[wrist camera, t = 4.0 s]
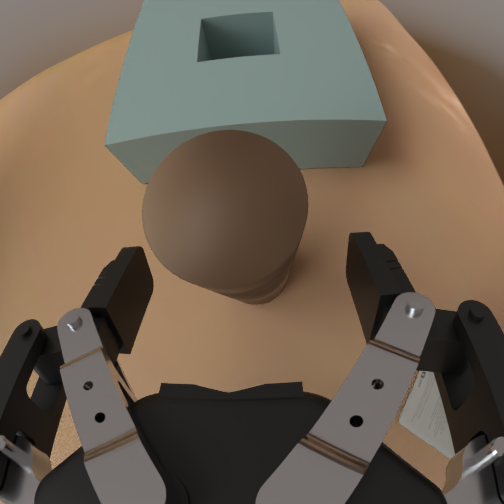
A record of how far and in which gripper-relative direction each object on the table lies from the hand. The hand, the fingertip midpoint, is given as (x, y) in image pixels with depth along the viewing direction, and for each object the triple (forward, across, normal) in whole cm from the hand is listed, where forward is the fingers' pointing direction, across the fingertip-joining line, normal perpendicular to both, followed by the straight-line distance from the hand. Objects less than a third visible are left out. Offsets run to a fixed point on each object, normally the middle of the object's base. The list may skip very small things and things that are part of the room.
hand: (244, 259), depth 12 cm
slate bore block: (+17, 0, -5) cm, 17 cm away
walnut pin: (+6, 0, +5) cm, 8 cm away
